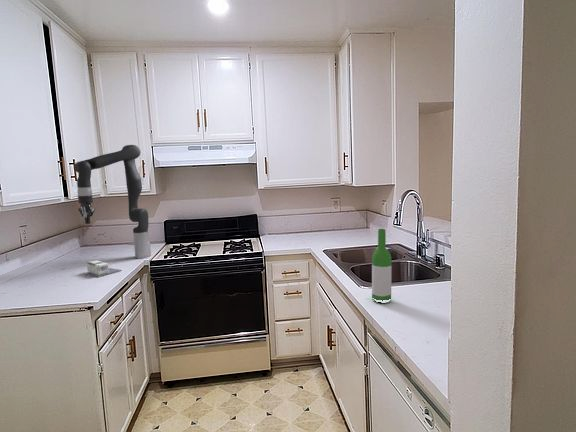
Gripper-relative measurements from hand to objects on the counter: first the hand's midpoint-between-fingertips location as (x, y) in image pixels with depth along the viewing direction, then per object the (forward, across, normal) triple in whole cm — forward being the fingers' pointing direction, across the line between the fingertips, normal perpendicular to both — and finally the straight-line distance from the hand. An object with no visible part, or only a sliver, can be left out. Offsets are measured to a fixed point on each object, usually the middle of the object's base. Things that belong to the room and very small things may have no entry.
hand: (87, 223), depth 208 cm
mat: (+27, -19, +5) cm, 33 cm away
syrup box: (+24, -9, +6) cm, 26 cm away
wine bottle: (+27, -172, -15) cm, 175 cm away
